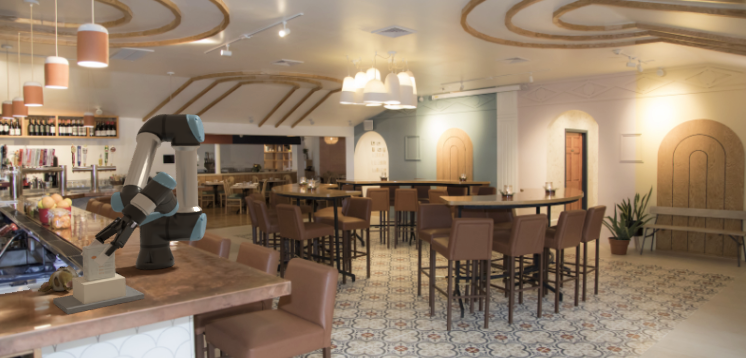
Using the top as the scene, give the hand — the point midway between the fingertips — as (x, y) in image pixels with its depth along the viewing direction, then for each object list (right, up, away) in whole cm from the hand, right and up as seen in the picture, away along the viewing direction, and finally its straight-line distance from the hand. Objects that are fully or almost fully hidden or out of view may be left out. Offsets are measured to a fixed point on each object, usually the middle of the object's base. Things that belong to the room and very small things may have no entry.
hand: (90, 260), depth 152 cm
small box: (+2, -6, +2) cm, 7 cm away
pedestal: (+2, -14, +2) cm, 14 cm away
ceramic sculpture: (-19, -13, +15) cm, 28 cm away
